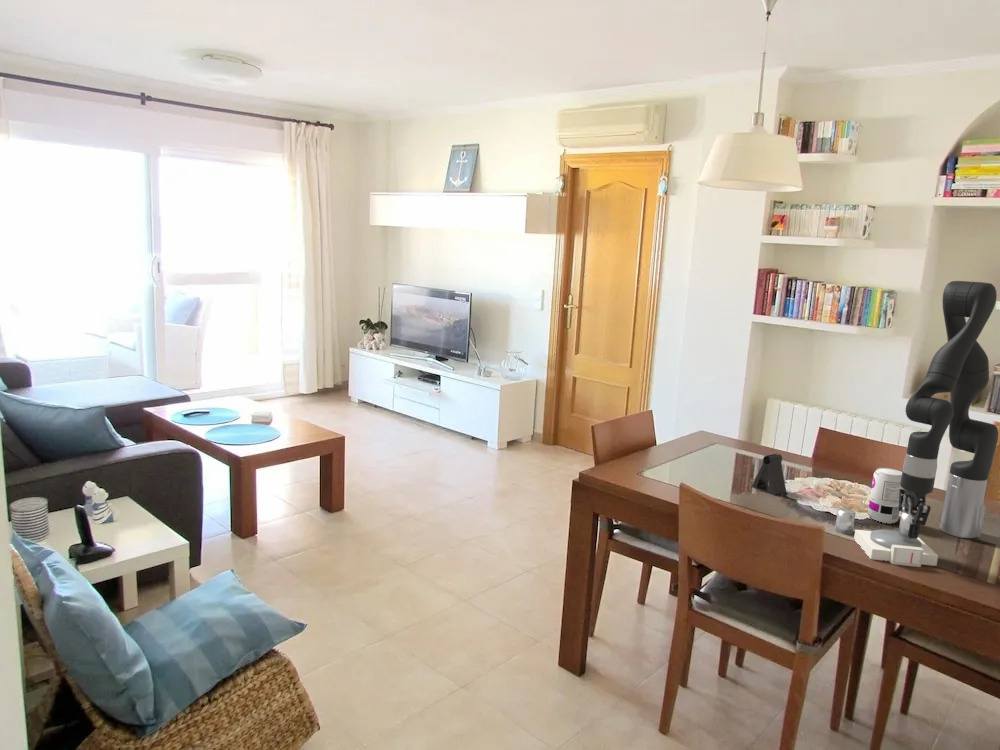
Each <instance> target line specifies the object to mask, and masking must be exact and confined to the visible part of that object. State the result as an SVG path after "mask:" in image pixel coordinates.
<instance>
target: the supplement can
mask: <svg viewBox="0 0 1000 750" xmlns="http://www.w3.org/2000/svg"><path fill="white" fill-rule="evenodd" d="M901 477H902V471H900V470H899V469H898V470H897V469H894V468H889V467H878V468H876V470H875V471H874V473H873V476H872V483H871V490H870V494H869V495H870V497H869V501H868V507H867V509H868V510H867V516H868V515H869V516H870V517H871V518H872V519H874V520H877V521H879V522H878V523H880V522H882V523H881V524H886V523H887V525H888V524H889V525H893V524H895V523H897V522H898V521H899V517H900V513H901V511H899V490H900V489H903V488H902V487H901V486H900V483H901ZM869 516H868V517H869ZM870 517H869V518H870ZM871 518H870V519H871ZM872 519H871V520H872ZM874 520H873V521H874ZM877 521H876V522H877ZM892 523H893V524H892Z"/></svg>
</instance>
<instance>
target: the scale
mask: <svg viewBox="0 0 1000 750" xmlns="http://www.w3.org/2000/svg"><path fill="white" fill-rule="evenodd" d="M853 539H855V540H854V541H855V542H856V543H857V544H859V545H860V546H861V547H860V546H859V547H860V548H861V550H864V551H865V552H864V551H863V552H864V553H865V554H866V555H867V557H868V556H869V557H868V558H869V559H870V560H874V561H875V560H876V561H883V560H884V561H885V562H889V563H890V564H891V565H897V566H906V567H907V566H908V567H917V568H921V567H922V565H923V566H934V567H937V563H938V558H939V555H938V554H937V553H936V552H935V551H934V550H933V549H932V548H931V547H929V545H927V544H926V543H925V542H924V541H923V540H922V539H921V538H920V537H919V536H918V538H917V539H908V538H905V537H902V536H900V535H899V534H898V531H897V530H891V529H875V530H873V531H872V530H863V529H855V530H854V537H853ZM884 561H883V562H884Z"/></svg>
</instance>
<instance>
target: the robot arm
mask: <svg viewBox="0 0 1000 750" xmlns="http://www.w3.org/2000/svg"><path fill="white" fill-rule="evenodd" d="M996 302H997V289H996V287H995V285H993V283H990V282H985V281H983V282H982V281H968V280H967V281H965V280H954V281H949V282H948V283H947V284H946V285H945V288H944V290H943V293H942V311H943V313H942V314H943V317H944V318H943V319H944V323H945V330H946V331H945V332H946V338H947V342H946V343H944V345H942V346H941V347H940V348H939V349H938V350H937V351H936V353H935V354H934V356H933V357H932V359H931V362H930V364H929V367H928V370H927V372H926V374H925V376H924V379H923V380H922V382H921V383H920V385H919V386H918V388H917V389H916V390H915V392H913V394H912V395H911V396H910V398H909V399H908V400H907V402H906V405H905V415H906V418H907V419H908V420H909V421H912V422H914V423H919V424H924V425H927V426H930V427H931V428H930V429H929V430H928V431H913V432H911V433H910V435H909V436H908V437H909V438H908V442H907V443H908V444H907V449H906V453H905V458H904V460H903V461H904V462H903V464H902V465H903V466H902V471H901V472H902V477H901V483H900V486H901V487H902V488H903V489H900V490H899V511H900V515H901V514H902V511H908V514H909V515H910V526H909V532H908V536H909V537H910V538H918V537H919V534H920V533H919V532H920V528H921V526H925V525H926V523H927V521H928V518H929V515H930V512H931V509H932V508H931V505H926V504H927V502H926V501H927V500H926V499H927V498H926V496H927V495H929V494H931V493H934V492H933V491H934V487H935V480H936V476H937V469H938V456H939V452H940V447H941V442H942V439H943V437H944V435H945V433H946V432H947V429H948V437H949V438H948V439H949V443H950V445H951V447H952V448H955V449H957V450H959V451H964V452H968V453H972V454H974V455H973V457H972V459H971V460H958V461H954V462H952V463H951V464H950V468H949V472H948V473H949V474H948V479H947V485H946V490H945V496H944V497H945V498H944V502H943V508H942V512H941V513H942V514H941V519H940V522H939V523H940V525H939V530H941V531H942V532H943V533H945V534H948V535H951V536H954V537H958V538H962V539H974V538H981V535H982V529H983V526H984V525H983V524H984V520H985V514H986V508H987V506H986V505H985V504H984V500H985V495H986V491H987V485H988V484H987V483H988V479H989V474H990V472H991V468H992V466H993V465H992V464H993V461H994V457H995V456H994V455H995V452H996V448H997V446H998V445H997V444H998V439H999V430H998V426H997V425H995V424H993V423H990V422H986V421H982V420H976V419H972V418H970V415H969V414H970V413H969V412H970V411H969V410H970V406H971V405H972V403H973V402H974V401H975V400H976V398H978V396H980V394H981V393H982V392H983V391H984V390H985V388H986V387H987V386H988V384H989V381H990V367H989V366H990V365H989V357H988V355H987V353H986V351H985V350H984V348H983V347H982V346H981V344H980V342H978V341H977V340H978V338H979V337H980V335H981V333H982V331H983V330H984V328H985V325H986V324H987V322H988V320H989V319H990V317H991V315H992V313H993V310H994V309H995V306H996ZM966 318H968V319H967V321H966ZM939 393H940V394H941V393H943V394H944V393H946V394H947V393H950V396H949V397H950V401H949V400H946V399H942V398H936V397H933V396H934V395H936V394H939ZM914 516H915V518H914Z"/></svg>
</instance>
